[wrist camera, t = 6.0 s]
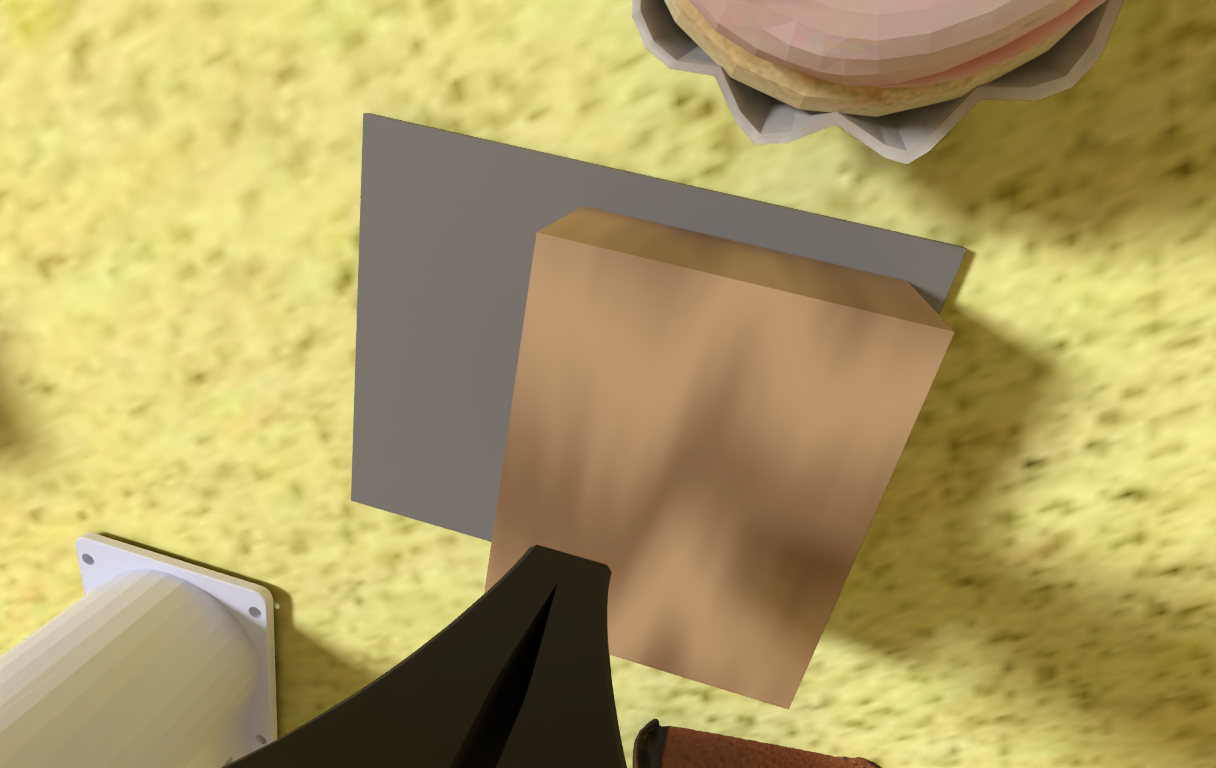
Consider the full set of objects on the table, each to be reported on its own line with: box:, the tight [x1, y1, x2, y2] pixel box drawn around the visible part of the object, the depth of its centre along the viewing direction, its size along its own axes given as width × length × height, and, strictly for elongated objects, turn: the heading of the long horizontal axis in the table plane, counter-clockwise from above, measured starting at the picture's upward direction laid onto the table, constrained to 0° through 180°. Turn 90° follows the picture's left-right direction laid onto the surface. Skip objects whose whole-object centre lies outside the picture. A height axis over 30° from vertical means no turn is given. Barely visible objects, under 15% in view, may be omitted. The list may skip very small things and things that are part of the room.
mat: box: [351, 113, 966, 542], centre depth 18 cm, size 12×15×1 cm
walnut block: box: [484, 206, 955, 709], centre depth 16 cm, size 10×4×8 cm
